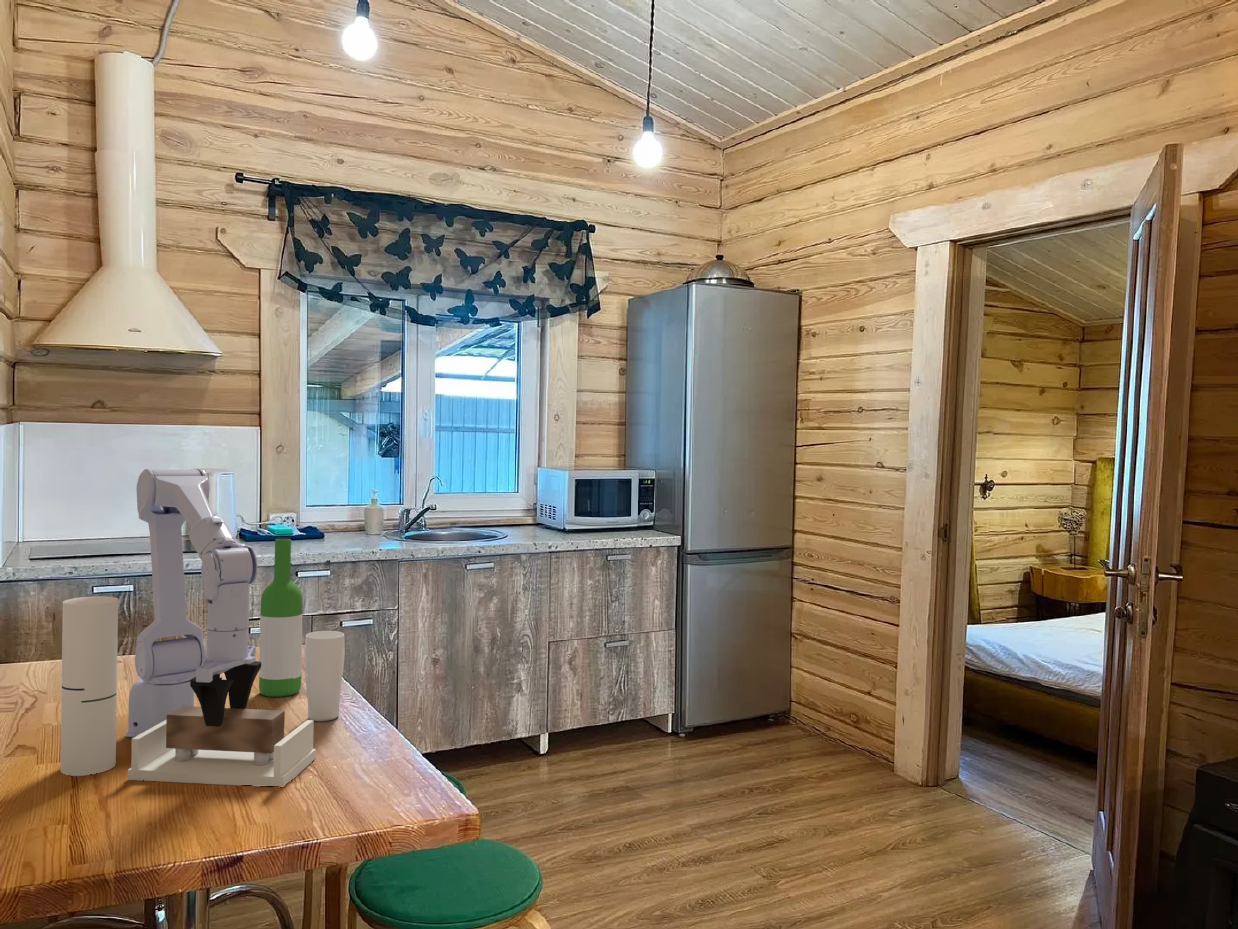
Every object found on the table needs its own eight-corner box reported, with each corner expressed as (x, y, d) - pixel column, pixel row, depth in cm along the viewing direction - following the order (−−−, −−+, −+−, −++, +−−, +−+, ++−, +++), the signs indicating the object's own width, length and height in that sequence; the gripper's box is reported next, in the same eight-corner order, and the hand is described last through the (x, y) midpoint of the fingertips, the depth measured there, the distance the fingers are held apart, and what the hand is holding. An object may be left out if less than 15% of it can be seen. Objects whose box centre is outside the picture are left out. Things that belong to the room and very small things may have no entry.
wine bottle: (252, 691, 177) (255, 538, 177) (291, 685, 183) (294, 536, 182) (267, 700, 172) (270, 542, 171) (307, 694, 177) (310, 540, 176)
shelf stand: (127, 779, 131) (128, 738, 131) (172, 751, 143) (173, 713, 143) (283, 787, 130) (284, 746, 130) (315, 758, 142) (316, 720, 142)
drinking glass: (331, 725, 158) (332, 639, 158) (295, 721, 160) (297, 637, 159) (350, 714, 165) (351, 631, 165) (316, 710, 166) (317, 629, 166)
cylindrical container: (75, 758, 139) (77, 596, 138) (124, 758, 140) (126, 596, 139) (50, 776, 132) (52, 604, 131) (101, 776, 133) (104, 605, 132)
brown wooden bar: (166, 748, 135) (166, 714, 135) (181, 738, 139) (182, 706, 139) (271, 753, 134) (272, 719, 134) (284, 743, 138) (284, 710, 138)
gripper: (230, 639, 129) (229, 734, 129) (275, 619, 143) (273, 704, 144) (182, 637, 129) (180, 732, 130) (231, 617, 144) (229, 702, 144)
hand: (226, 717), depth 137 cm, fingers open, 7 cm apart
